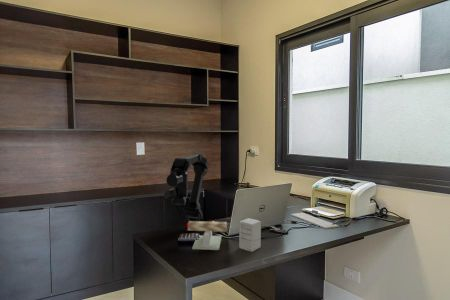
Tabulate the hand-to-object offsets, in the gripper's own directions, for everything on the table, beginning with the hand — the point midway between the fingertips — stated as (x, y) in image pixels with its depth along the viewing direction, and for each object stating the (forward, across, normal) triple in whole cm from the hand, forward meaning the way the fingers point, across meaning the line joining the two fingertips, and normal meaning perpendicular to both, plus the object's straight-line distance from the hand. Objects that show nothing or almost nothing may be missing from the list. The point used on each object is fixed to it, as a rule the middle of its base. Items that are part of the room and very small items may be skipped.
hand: (181, 214), depth 155 cm
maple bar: (+6, +6, +14) cm, 16 cm away
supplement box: (+12, +10, +34) cm, 37 cm away
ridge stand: (+12, +6, +14) cm, 19 cm away
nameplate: (+13, -22, +46) cm, 53 cm away
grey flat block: (+13, -38, +75) cm, 85 cm away
